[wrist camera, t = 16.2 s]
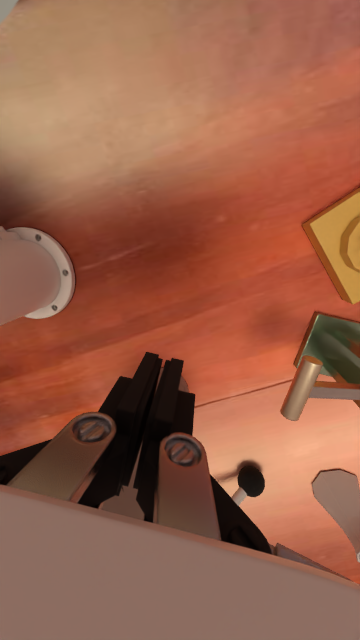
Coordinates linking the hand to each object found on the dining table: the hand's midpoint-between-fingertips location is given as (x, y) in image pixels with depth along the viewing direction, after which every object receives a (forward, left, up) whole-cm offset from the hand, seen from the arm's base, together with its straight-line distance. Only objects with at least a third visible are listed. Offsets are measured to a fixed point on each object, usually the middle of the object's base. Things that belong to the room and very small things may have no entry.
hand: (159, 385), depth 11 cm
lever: (+14, +8, -13) cm, 21 cm away
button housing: (+7, +19, -25) cm, 32 cm away
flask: (+40, +1, -25) cm, 47 cm away
